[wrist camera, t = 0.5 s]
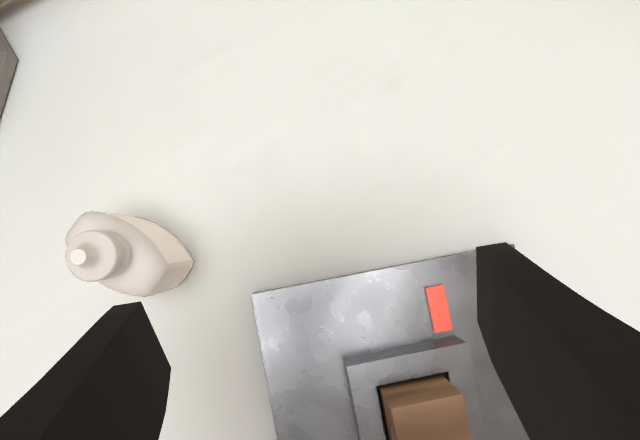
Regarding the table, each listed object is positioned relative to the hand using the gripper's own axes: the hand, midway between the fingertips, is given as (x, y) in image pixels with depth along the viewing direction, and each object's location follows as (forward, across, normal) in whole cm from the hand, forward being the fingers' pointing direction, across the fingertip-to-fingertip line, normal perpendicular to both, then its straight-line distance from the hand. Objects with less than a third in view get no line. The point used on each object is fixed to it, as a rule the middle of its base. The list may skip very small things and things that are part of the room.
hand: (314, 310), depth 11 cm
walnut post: (+14, -3, +21) cm, 25 cm away
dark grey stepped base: (+15, -3, +22) cm, 27 cm away
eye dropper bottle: (+21, +12, +10) cm, 26 cm away
